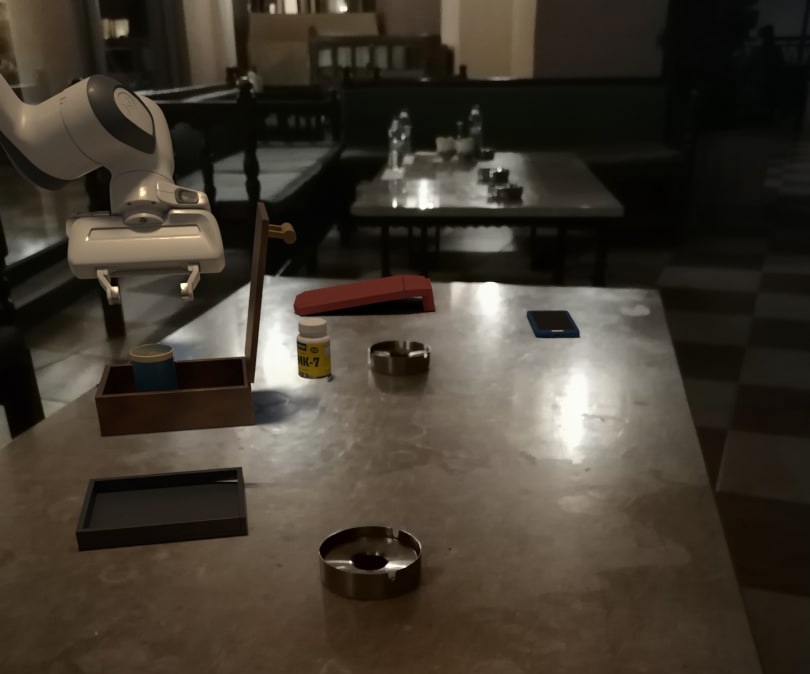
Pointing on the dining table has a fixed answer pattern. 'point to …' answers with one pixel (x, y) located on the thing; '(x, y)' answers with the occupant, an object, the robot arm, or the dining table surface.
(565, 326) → the cell phone
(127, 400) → the chest
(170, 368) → the canister
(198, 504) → the tray
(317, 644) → the dining table surface
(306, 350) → the supplement bottle
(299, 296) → the red ramp
